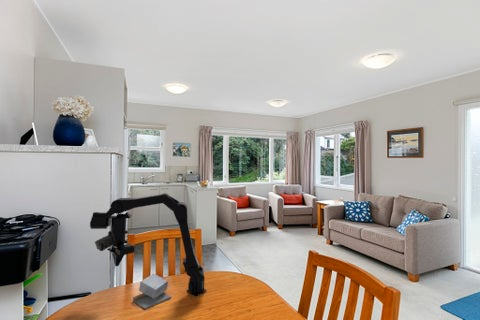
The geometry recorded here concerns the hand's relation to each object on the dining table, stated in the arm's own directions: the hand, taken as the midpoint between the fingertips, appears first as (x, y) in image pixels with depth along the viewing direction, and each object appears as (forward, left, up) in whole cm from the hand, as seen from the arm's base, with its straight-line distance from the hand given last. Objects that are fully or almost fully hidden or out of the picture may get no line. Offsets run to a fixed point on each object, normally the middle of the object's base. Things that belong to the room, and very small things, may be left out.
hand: (116, 266), depth 109 cm
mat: (-9, +14, -12) cm, 21 cm away
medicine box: (-10, +6, -8) cm, 14 cm away
